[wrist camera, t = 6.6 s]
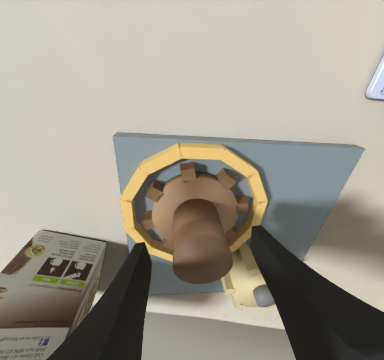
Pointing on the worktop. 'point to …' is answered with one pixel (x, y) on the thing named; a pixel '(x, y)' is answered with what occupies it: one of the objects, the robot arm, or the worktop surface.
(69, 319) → the coffee box
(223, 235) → the planet gear
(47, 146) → the worktop surface
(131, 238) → the carrier plate
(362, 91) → the worktop surface
